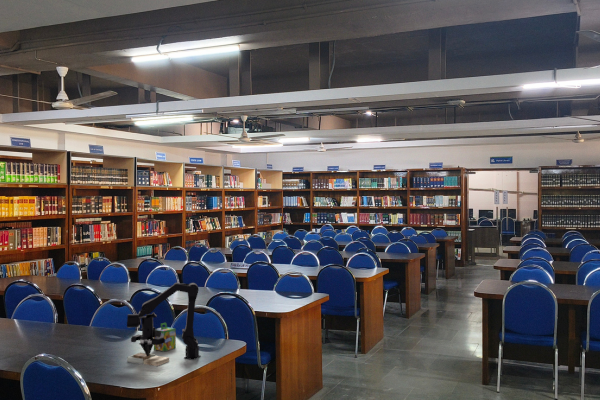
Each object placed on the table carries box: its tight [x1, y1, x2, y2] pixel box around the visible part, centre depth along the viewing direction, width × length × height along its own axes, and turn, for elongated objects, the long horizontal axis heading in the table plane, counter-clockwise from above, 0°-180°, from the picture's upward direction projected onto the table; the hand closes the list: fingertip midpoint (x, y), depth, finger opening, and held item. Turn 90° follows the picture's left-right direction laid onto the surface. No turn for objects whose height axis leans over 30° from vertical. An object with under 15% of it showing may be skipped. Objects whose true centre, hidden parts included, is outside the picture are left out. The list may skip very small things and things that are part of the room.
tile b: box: [132, 352, 143, 358], centre depth 278 cm, size 4×4×2 cm
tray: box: [126, 351, 157, 365], centre depth 277 cm, size 10×10×2 cm
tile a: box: [139, 354, 150, 361], centre depth 276 cm, size 4×4×2 cm
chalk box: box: [153, 322, 177, 352], centre depth 299 cm, size 9×9×15 cm
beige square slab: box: [143, 355, 170, 367], centre depth 272 cm, size 9×9×2 cm
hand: (148, 356), depth 275 cm, fingers closed
